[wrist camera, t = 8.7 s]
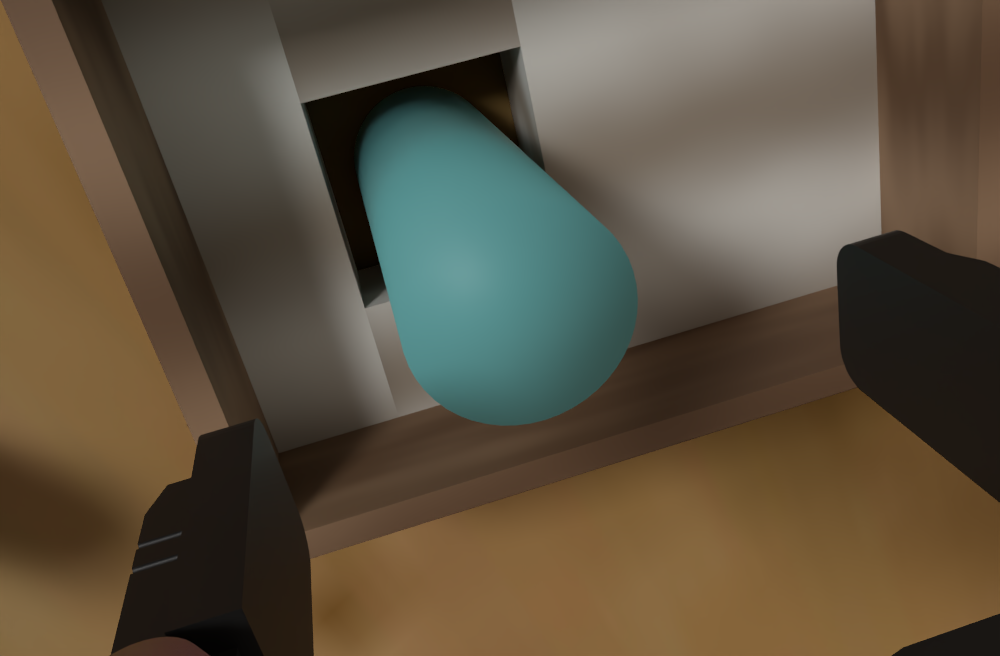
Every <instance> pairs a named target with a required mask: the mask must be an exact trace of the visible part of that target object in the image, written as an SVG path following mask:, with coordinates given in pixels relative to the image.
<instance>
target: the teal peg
mask: <svg viewBox="0 0 1000 656" xmlns="http://www.w3.org/2000/svg"><path fill="white" fill-rule="evenodd" d="M354 165H355V171H356V175H357V179H358V183H359V187H360V190H361V194H362V198H363V202H364V206H365V209H366V213H367V217H368V221H369V224H370V228H371V232H372V236H373V240H374V243H375V247H376V251H377V255H378V258H379V262H380V266H381V270H382V273H383V277H384V281H385V285H386V289H387V292H388V296H389V300H390V304H391V307H392V311H393V315H394V319H395V323H396V326H397V330H398V334H399V338H400V341H401V345H402V349H403V353H404V355H405V358H406V361H407V363H408V366H409V368H410V370H411V371H412V373H413V375H414V377H415V379H416V380H417V381H418V383H419V384H420V385H421V386H422V388H423V389H424V390H425V391H426V392H427V393H428V394H429V395H430V396H431V397H432V398H433V399H434V400H435V401H436V402H438V403H439V404H440V405H442V406H443V407H445V408H446V409H448V410H450V411H451V412H453V413H455V414H457V415H459V416H461V417H464V418H467V419H469V420H472V421H476V422H480V423H484V424H491V425H500V426H510V425H523V424H531V423H535V422H539V421H543V420H546V419H549V418H552V417H554V416H557V415H560V414H562V413H564V412H566V411H568V410H570V409H572V408H573V407H575V406H577V405H578V404H580V403H581V402H583V401H584V400H586V399H587V398H588V397H589V396H591V395H592V394H593V393H594V392H595V391H597V390H598V389H599V388H600V387H601V386H602V385H603V384H604V383H605V382H606V380H607V379H608V378H609V377H610V376H611V374H612V373H613V372H614V370H615V369H616V368H617V366H618V365H619V363H620V361H621V360H622V358H623V356H624V355H625V352H626V350H627V348H628V346H629V344H630V341H631V338H632V335H633V332H634V328H635V323H636V318H637V308H638V294H637V284H636V280H635V276H634V271H633V269H632V266H631V263H630V261H629V258H628V256H627V255H626V253H625V251H624V249H623V248H622V246H621V244H620V243H619V242H618V240H617V239H616V238H615V237H614V235H613V234H612V233H611V232H610V231H609V230H608V229H607V228H606V227H605V226H604V225H603V224H602V223H600V222H599V221H598V220H597V219H596V218H595V217H594V216H593V215H592V214H591V213H590V212H588V211H587V210H586V209H585V208H584V207H583V206H582V205H581V204H580V203H579V202H578V201H576V200H575V199H574V198H573V197H572V196H571V195H570V194H569V193H568V192H567V191H566V190H564V189H563V188H562V187H561V186H560V185H559V184H558V183H557V182H556V181H555V180H554V179H552V178H551V177H550V176H549V175H548V174H547V173H546V172H545V171H544V170H543V169H542V168H540V167H539V166H538V165H537V164H536V163H535V162H534V161H533V160H532V159H531V158H529V157H528V156H527V155H526V154H525V153H524V152H523V151H522V150H521V149H520V148H519V147H517V146H516V145H515V144H514V143H513V142H512V141H511V140H510V139H509V138H508V137H507V136H505V135H504V134H503V133H502V132H501V131H500V130H499V129H498V128H497V127H496V126H495V125H493V124H492V123H491V122H490V121H489V120H488V119H487V118H486V117H485V116H484V115H483V114H481V113H480V112H479V111H478V110H477V109H476V108H475V107H474V106H473V105H472V104H471V103H469V102H468V101H467V100H466V99H464V98H463V97H461V96H460V95H458V94H456V93H454V92H452V91H449V90H446V89H443V88H439V87H433V86H415V87H410V88H406V89H403V90H400V91H397V92H395V93H393V94H391V95H389V96H388V97H386V98H385V99H383V100H382V101H380V102H379V103H378V104H377V105H376V106H375V107H374V108H373V109H372V110H371V111H370V112H369V114H368V115H367V117H366V118H365V120H364V121H363V123H362V125H361V127H360V129H359V132H358V135H357V138H356V142H355V148H354Z"/></svg>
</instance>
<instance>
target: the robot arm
mask: <svg viewBox="0 0 1000 656" xmlns="http://www.w3.org/2000/svg"><path fill="white" fill-rule="evenodd" d="M837 289H838V312H839V335H840V350H841V355H842V359H843V362H844V365H845V368H846V370H847V372H848V374H849V376H850V378H851V379H852V381H853V382H854V383H855V385H856V386H857V387H858V388H859V389H860V390H861V391H862V392H864V393H865V394H866V395H867V396H869V397H870V398H871V399H872V400H874V401H875V402H876V403H877V404H878V405H880V406H881V407H882V408H883V409H885V410H886V411H887V412H888V413H890V414H891V415H892V416H893V417H895V418H896V419H897V420H898V421H899V422H901V423H902V424H903V425H904V426H906V427H907V428H908V429H909V430H911V431H912V432H913V433H914V434H916V435H917V436H918V437H919V438H921V439H922V440H923V441H924V442H925V443H927V444H928V445H929V446H930V447H932V448H933V449H934V450H935V451H937V452H938V453H939V454H940V455H942V456H943V457H944V458H945V459H946V460H948V461H949V462H950V463H951V464H953V465H954V466H955V467H956V468H958V469H959V470H960V471H961V472H963V473H964V474H965V475H966V476H968V477H969V478H970V479H971V480H972V481H974V482H975V483H976V484H977V485H979V486H980V487H981V488H982V489H984V490H985V491H986V492H987V493H989V494H990V495H991V496H992V497H994V498H995V499H996V500H997V501H998V502H1000V268H999V267H997V266H995V265H993V264H991V263H989V262H987V261H983V260H979V259H974V258H969V257H965V256H960V255H955V254H951V253H946V252H944V251H942V250H940V249H938V248H936V247H934V246H932V245H930V244H928V243H926V242H924V241H922V240H920V239H918V238H916V237H914V236H912V235H910V234H908V233H906V232H903V231H901V230H895V231H891V232H888V233H884V234H881V235H878V236H874V237H871V238H867V239H864V240H861V241H857V242H854V243H851V244H847V245H845V246H843V247H842V248H841V249H840V251H839V254H838V257H837ZM138 546H139V549H138V550H136V553H135V557H134V562H133V566H132V570H133V574H131V575H130V578H129V582H128V586H127V590H126V594H125V599H124V603H123V607H122V611H121V615H120V619H119V623H118V627H117V631H116V636H115V640H114V644H113V648H112V652H111V655H110V656H314V652H313V624H312V595H311V567H310V554H309V548H308V543H307V538H306V534H305V530H304V527H303V523H302V520H301V517H300V514H299V512H298V509H297V507H296V504H295V502H294V499H293V497H292V494H291V492H290V489H289V487H288V484H287V482H286V479H285V477H284V474H283V472H282V469H281V467H280V464H279V462H278V459H277V457H276V454H275V452H274V449H273V447H272V444H271V442H270V439H269V437H268V434H267V432H266V430H265V428H264V426H263V424H262V423H261V421H260V420H259V419H257V418H256V419H253V420H250V421H246V422H243V423H240V424H236V425H233V426H229V427H226V428H223V429H219V430H216V431H213V432H209V433H206V434H203V435H200V436H199V438H198V443H197V448H196V454H195V460H194V465H193V471H192V477H191V478H189V479H186V480H183V481H179V482H176V483H173V484H169V485H167V486H166V488H165V489H164V490H163V492H162V493H161V494H160V496H159V497H158V498H157V500H156V501H155V502H154V504H153V505H152V506H151V508H150V509H149V510H148V511H147V513H146V514H145V516H144V520H143V525H142V529H141V533H140V537H139V541H138ZM892 656H1000V614H998V615H995V616H992V617H989V618H986V619H983V620H980V621H978V622H975V623H972V624H969V625H966V626H963V627H960V628H958V629H955V630H952V631H949V632H946V633H943V634H940V635H938V636H935V637H932V638H929V639H926V640H923V641H920V642H918V643H915V644H912V645H909V646H906V647H903V648H902V649H901V650H899V651H898V652H896V653H895V654H893V655H892Z"/></svg>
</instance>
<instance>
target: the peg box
mask: <svg viewBox="0 0 1000 656" xmlns="http://www.w3.org/2000/svg"><path fill="white" fill-rule="evenodd" d="M1 1H2V3H3V6H4V8H5V10H6V13H7V15H8V17H9V19H10V22H11V24H12V26H13V28H14V31H15V33H16V35H17V38H18V40H19V42H20V44H21V47H22V49H23V51H24V54H25V56H26V58H27V60H28V63H29V65H30V67H31V69H32V72H33V74H34V76H35V79H36V81H37V83H38V85H39V88H40V90H41V92H42V95H43V97H44V99H45V101H46V104H47V106H48V108H49V110H50V113H51V115H52V117H53V120H54V122H55V124H56V126H57V129H58V131H59V133H60V136H61V138H62V140H63V142H64V145H65V147H66V149H67V151H68V154H69V156H70V158H71V161H72V163H73V165H74V167H75V170H76V172H77V174H78V176H79V179H80V181H81V183H82V186H83V188H84V190H85V192H86V195H87V197H88V199H89V202H90V204H91V206H92V208H93V211H94V213H95V215H96V217H97V220H98V222H99V224H100V227H101V229H102V231H103V233H104V236H105V238H106V240H107V243H108V245H109V247H110V249H111V252H112V254H113V256H114V258H115V261H116V263H117V265H118V268H119V270H120V272H121V274H122V277H123V279H124V281H125V284H126V286H127V288H128V290H129V293H130V295H131V297H132V299H133V302H134V304H135V306H136V309H137V311H138V313H139V315H140V318H141V320H142V322H143V325H144V327H145V329H146V331H147V334H148V336H149V338H150V340H151V343H152V345H153V347H154V350H155V352H156V354H157V356H158V359H159V361H160V363H161V365H162V368H163V370H164V372H165V375H166V377H167V379H168V381H169V384H170V386H171V388H172V391H173V393H174V395H175V397H176V400H177V402H178V404H179V406H180V409H181V411H182V413H183V416H184V418H185V420H186V422H187V425H188V427H189V429H190V432H191V434H192V436H193V438H194V441H195V443H196V445H197V443H198V438H199V436H200V435H203V434H206V433H209V432H213V431H216V430H219V429H223V428H226V427H229V426H233V425H236V424H240V423H243V422H246V421H250V420H253V419H256V418H257V419H259V420H260V421H261V423H262V424H263V426H264V428H265V430H266V432H267V434H268V437H269V439H270V442H271V444H272V447H273V449H274V452H275V454H276V457H277V459H278V462H279V464H280V467H281V469H282V472H283V474H284V477H285V479H286V482H287V484H288V487H289V489H290V492H291V494H292V497H293V499H294V502H295V504H296V507H297V509H298V512H299V514H300V517H301V520H302V523H303V527H304V530H305V534H306V538H307V543H308V548H309V554H310V559H311V558H314V557H318V556H321V555H324V554H327V553H330V552H333V551H337V550H340V549H343V548H346V547H349V546H353V545H356V544H359V543H362V542H365V541H369V540H372V539H375V538H378V537H381V536H384V535H388V534H391V533H394V532H397V531H400V530H404V529H407V528H410V527H413V526H416V525H420V524H423V523H426V522H429V521H432V520H436V519H439V518H442V517H445V516H448V515H451V514H455V513H458V512H461V511H464V510H467V509H471V508H474V507H477V506H480V505H483V504H487V503H490V502H493V501H496V500H499V499H503V498H506V497H509V496H512V495H515V494H518V493H522V492H525V491H528V490H531V489H534V488H538V487H541V486H544V485H547V484H550V483H554V482H557V481H560V480H563V479H566V478H569V477H573V476H576V475H579V474H582V473H585V472H589V471H592V470H595V469H598V468H601V467H605V466H608V465H611V464H614V463H617V462H621V461H624V460H627V459H630V458H633V457H636V456H640V455H643V454H646V453H649V452H652V451H656V450H659V449H662V448H665V447H668V446H672V445H675V444H678V443H681V442H684V441H688V440H691V439H694V438H697V437H700V436H703V435H707V434H710V433H713V432H716V431H719V430H723V429H726V428H729V427H732V426H735V425H739V424H742V423H745V422H748V421H751V420H754V419H758V418H761V417H764V416H767V415H770V414H774V413H777V412H780V411H783V410H786V409H790V408H793V407H796V406H799V405H802V404H806V403H809V402H812V401H815V400H818V399H821V398H825V397H828V396H831V395H834V394H837V393H841V392H844V391H847V390H850V389H853V388H857V386H856V385H855V383H854V382H853V381H852V379H851V378H850V376H849V374H848V372H847V370H846V368H845V365H844V362H843V359H842V355H841V350H840V335H839V312H838V289H837V257H838V254H839V251H840V249H841V248H842V247H843V246H845V245H847V244H851V243H854V242H857V241H861V240H864V239H867V238H871V237H874V236H878V235H881V234H884V233H888V232H891V231H895V230H901V231H903V232H906V233H908V234H910V235H912V236H914V237H916V238H918V239H920V240H922V241H924V242H926V243H928V244H930V245H932V246H934V247H936V248H938V249H940V250H942V251H944V252H946V253H951V254H955V255H960V256H965V257H969V258H974V259H979V260H983V261H987V262H989V263H991V264H993V265H995V266H997V267H999V268H1000V0H1ZM497 52H499V53H500V58H501V63H502V68H503V73H504V77H505V82H506V87H507V92H508V96H509V101H510V106H511V111H512V115H513V120H514V125H515V130H516V135H517V139H518V144H519V148H520V149H521V150H522V151H523V152H524V153H525V154H526V155H527V156H528V157H529V158H531V159H532V160H533V161H534V162H535V163H536V164H537V165H538V166H539V167H540V168H542V169H543V170H544V171H545V172H546V173H547V174H548V175H549V176H550V177H551V178H552V179H554V180H555V181H556V182H557V183H558V184H559V185H560V186H561V187H562V188H563V189H564V190H566V191H567V192H568V193H569V194H570V195H571V196H572V197H573V198H574V199H575V200H576V201H578V202H579V203H580V204H581V205H582V206H583V207H584V208H585V209H586V210H587V211H588V212H590V213H591V214H592V215H593V216H594V217H595V218H596V219H597V220H598V221H599V222H600V223H602V224H603V225H604V226H605V227H606V228H607V229H608V230H609V231H610V232H611V233H612V234H613V235H614V237H615V238H616V239H617V240H618V242H619V243H620V244H621V246H622V248H623V249H624V251H625V253H626V255H627V256H628V258H629V261H630V263H631V266H632V269H633V271H634V276H635V280H636V284H637V294H638V308H637V318H636V323H635V328H634V332H633V335H632V338H631V341H630V344H629V346H628V348H627V350H626V352H625V355H624V356H623V358H622V360H621V361H620V363H619V365H618V366H617V368H616V369H615V370H614V372H613V373H612V374H611V376H610V377H609V378H608V379H607V380H606V382H605V383H604V384H603V385H602V386H601V387H600V388H599V389H598V390H597V391H595V392H594V393H593V394H592V395H591V396H589V397H588V398H587V399H586V400H584V401H583V402H581V403H580V404H578V405H577V406H575V407H573V408H572V409H570V410H568V411H566V412H564V413H562V414H560V415H557V416H554V417H552V418H549V419H546V420H543V421H539V422H535V423H531V424H523V425H510V426H500V425H491V424H484V423H480V422H476V421H472V420H469V419H467V418H464V417H461V416H459V415H457V414H455V413H453V412H451V411H450V410H448V409H446V408H445V407H443V406H442V405H440V404H439V403H438V402H436V401H435V400H434V399H433V398H432V397H431V396H430V395H429V394H428V393H427V392H426V391H425V390H424V389H423V388H422V386H421V385H420V384H419V383H418V381H417V380H416V379H415V377H414V375H413V373H412V371H411V370H410V368H409V366H408V363H407V361H406V358H405V355H404V353H403V349H402V345H401V341H400V338H399V334H398V330H397V326H396V323H395V319H394V315H393V311H392V307H391V304H390V300H389V296H388V292H387V289H386V285H385V281H384V277H383V273H382V270H381V266H380V265H377V266H373V267H369V268H366V269H362V270H359V271H357V268H356V264H355V261H354V258H353V255H352V252H351V248H350V245H349V242H348V239H347V236H346V232H345V229H344V226H343V223H342V219H341V216H340V213H339V210H338V207H337V203H336V200H335V197H334V194H333V190H332V187H331V184H330V181H329V178H328V174H327V171H326V168H325V165H324V162H323V158H322V155H321V152H320V149H319V145H318V142H317V139H316V136H315V133H314V129H313V126H312V123H311V120H310V116H309V113H308V110H307V107H306V104H305V102H309V101H312V100H316V99H320V98H324V97H328V96H332V95H336V94H339V93H343V92H347V91H351V90H355V89H359V88H362V87H366V86H370V85H374V84H378V83H382V82H386V81H389V80H393V79H397V78H401V77H405V76H409V75H412V74H416V73H420V72H424V71H428V70H432V69H435V68H439V67H443V66H447V65H451V64H455V63H459V62H462V61H466V60H470V59H474V58H478V57H482V56H485V55H489V54H493V53H497Z"/></svg>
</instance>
